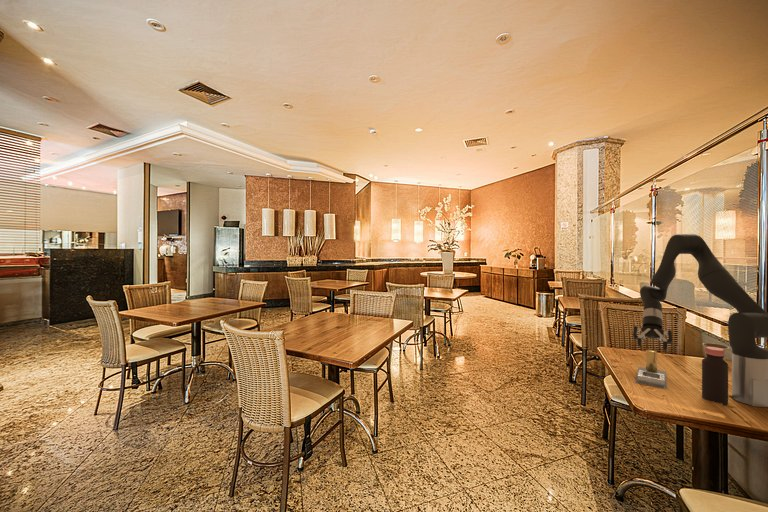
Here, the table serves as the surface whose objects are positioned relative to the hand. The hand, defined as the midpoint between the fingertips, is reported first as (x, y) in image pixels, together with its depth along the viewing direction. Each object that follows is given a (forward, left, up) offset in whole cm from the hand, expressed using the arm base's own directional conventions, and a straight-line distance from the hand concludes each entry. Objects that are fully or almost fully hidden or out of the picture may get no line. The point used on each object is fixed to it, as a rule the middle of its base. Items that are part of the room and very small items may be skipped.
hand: (651, 348), depth 149 cm
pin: (-5, +3, -10) cm, 11 cm away
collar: (-14, +9, -10) cm, 19 cm away
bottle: (-29, -3, -11) cm, 32 cm away
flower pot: (+17, -38, -11) cm, 43 cm away
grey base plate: (-9, +6, -11) cm, 16 cm away
